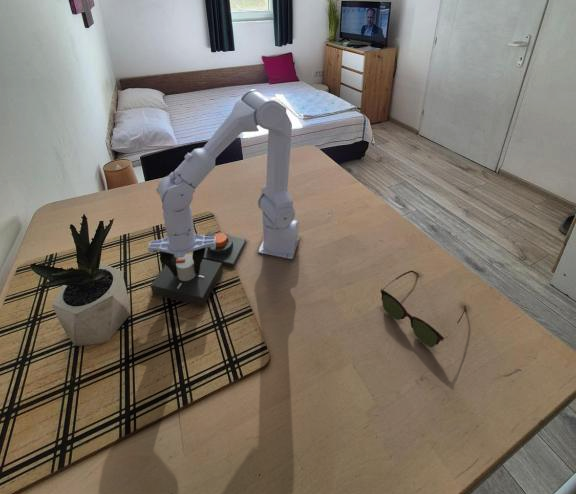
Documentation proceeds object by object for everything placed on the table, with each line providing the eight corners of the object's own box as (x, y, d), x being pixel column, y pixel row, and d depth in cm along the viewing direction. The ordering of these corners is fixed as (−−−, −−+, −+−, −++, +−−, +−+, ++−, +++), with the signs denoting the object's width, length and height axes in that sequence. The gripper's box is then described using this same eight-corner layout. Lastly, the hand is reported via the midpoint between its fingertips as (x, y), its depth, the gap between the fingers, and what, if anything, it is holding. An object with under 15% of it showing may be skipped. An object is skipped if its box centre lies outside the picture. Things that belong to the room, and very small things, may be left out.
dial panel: (222, 271, 81) (221, 262, 80) (203, 307, 72) (202, 297, 71) (176, 261, 84) (174, 252, 82) (152, 294, 75) (150, 284, 74)
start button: (229, 239, 88) (228, 234, 87) (223, 249, 84) (223, 243, 84) (216, 237, 88) (216, 232, 88) (211, 246, 85) (210, 241, 84)
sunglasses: (376, 304, 73) (380, 287, 71) (411, 274, 82) (415, 258, 80) (438, 356, 63) (444, 338, 61) (470, 315, 72) (476, 298, 70)
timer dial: (198, 265, 79) (196, 252, 77) (195, 280, 75) (193, 266, 73) (180, 266, 78) (177, 253, 77) (175, 281, 74) (173, 268, 73)
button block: (246, 242, 90) (245, 233, 89) (233, 267, 82) (232, 258, 81) (209, 235, 93) (208, 226, 91) (194, 258, 85) (192, 250, 83)
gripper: (139, 242, 67) (150, 289, 72) (211, 237, 68) (216, 283, 74) (149, 219, 73) (158, 264, 78) (214, 215, 74) (219, 259, 80)
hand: (187, 272), depth 76 cm, fingers closed on timer dial, 4 cm apart
